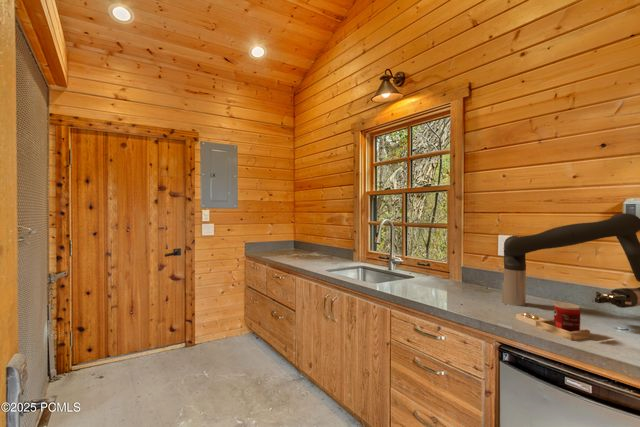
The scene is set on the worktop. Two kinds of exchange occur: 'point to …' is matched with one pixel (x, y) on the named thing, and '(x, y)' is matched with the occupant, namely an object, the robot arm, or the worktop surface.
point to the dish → (527, 319)
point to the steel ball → (527, 315)
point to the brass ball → (535, 317)
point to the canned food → (567, 316)
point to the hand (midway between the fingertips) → (597, 300)
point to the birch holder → (561, 330)
